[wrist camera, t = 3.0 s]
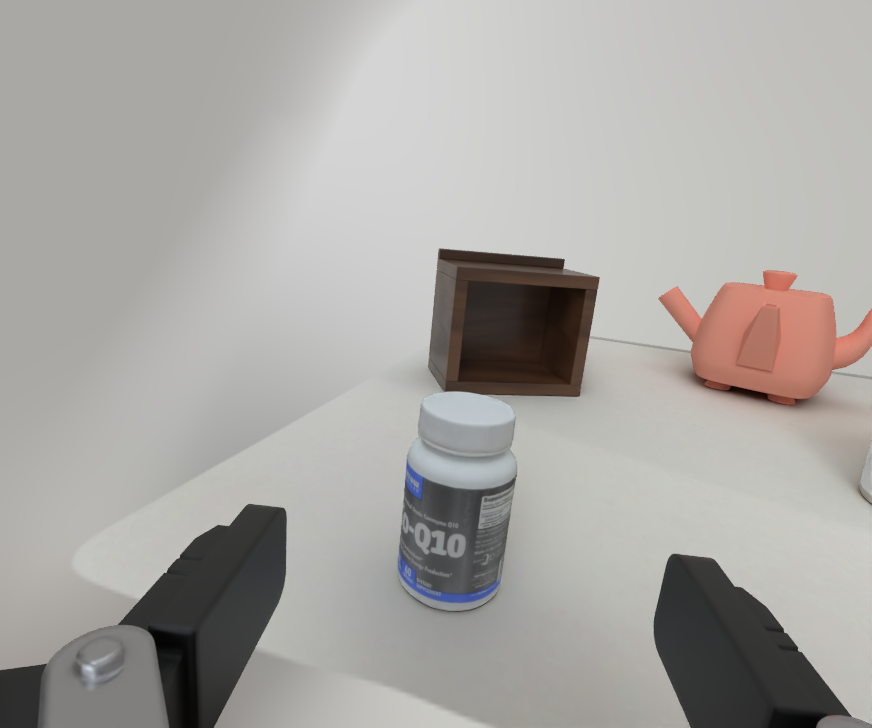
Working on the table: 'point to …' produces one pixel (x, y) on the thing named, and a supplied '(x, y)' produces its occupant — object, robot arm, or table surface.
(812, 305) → the teapot
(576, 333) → the shelf
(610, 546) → the table surface
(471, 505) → the pill bottle
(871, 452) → the mug
